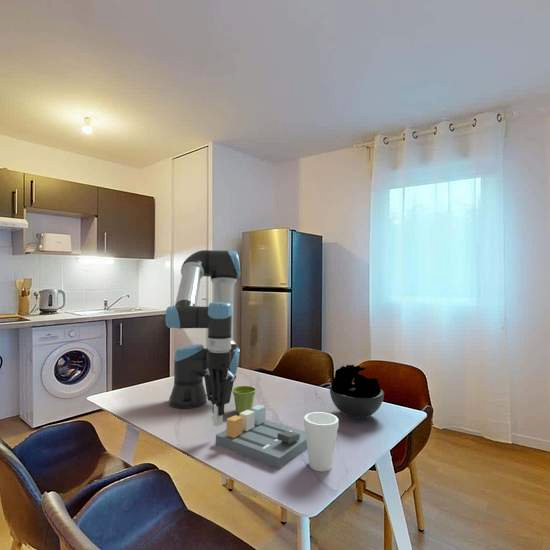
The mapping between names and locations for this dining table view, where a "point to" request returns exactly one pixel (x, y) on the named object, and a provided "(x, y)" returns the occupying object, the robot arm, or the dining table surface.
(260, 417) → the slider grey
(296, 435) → the block
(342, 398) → the bowl of black rocks
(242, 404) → the plant pot
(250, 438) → the panel
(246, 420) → the slider cream
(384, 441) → the dining table surface
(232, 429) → the slider orange
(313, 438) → the foam cup
